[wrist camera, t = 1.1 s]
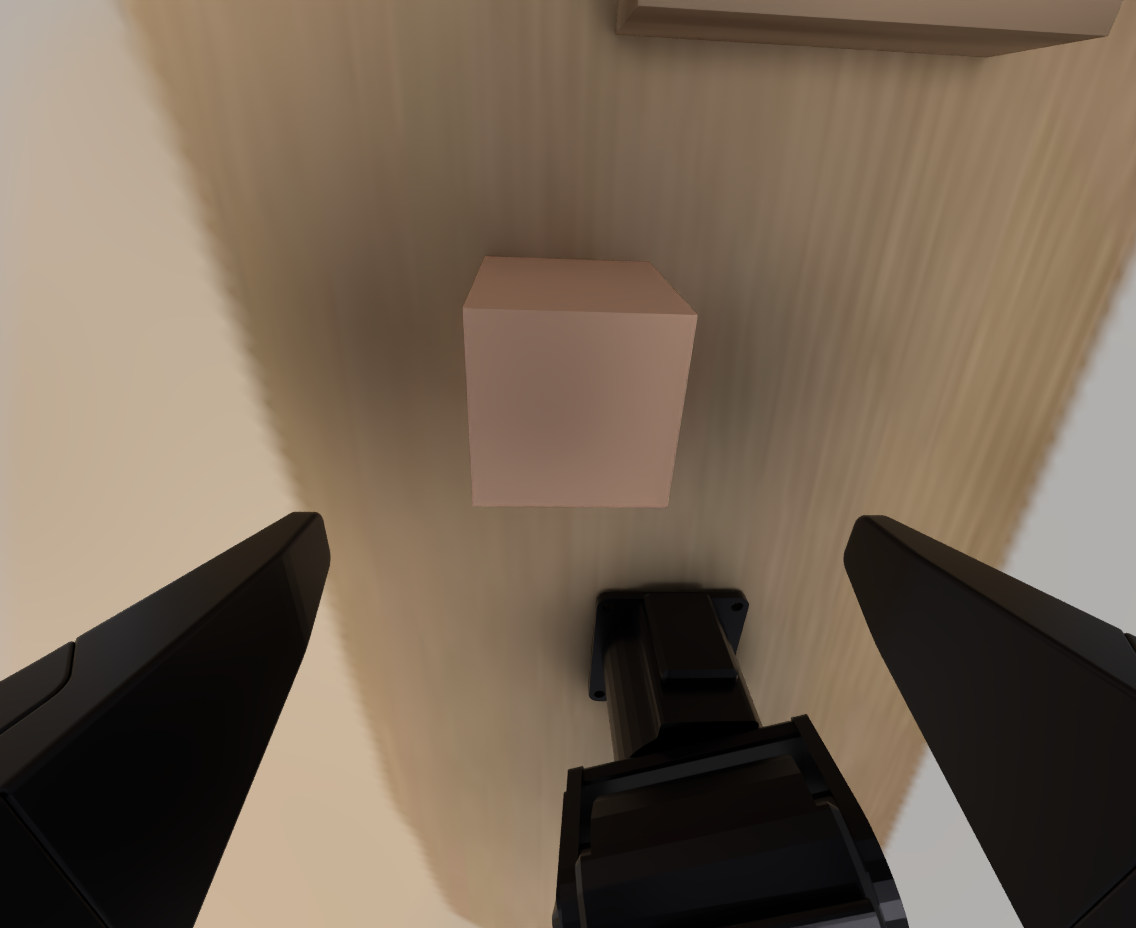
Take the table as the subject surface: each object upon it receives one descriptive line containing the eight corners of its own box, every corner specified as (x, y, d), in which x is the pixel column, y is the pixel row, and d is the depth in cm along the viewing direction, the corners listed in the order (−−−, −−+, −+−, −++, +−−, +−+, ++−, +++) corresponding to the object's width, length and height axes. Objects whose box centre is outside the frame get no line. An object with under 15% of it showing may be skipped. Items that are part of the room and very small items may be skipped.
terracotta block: (632, 410, 20) (667, 507, 15) (489, 407, 19) (472, 506, 14) (649, 261, 17) (697, 315, 12) (484, 255, 17) (462, 308, 12)
